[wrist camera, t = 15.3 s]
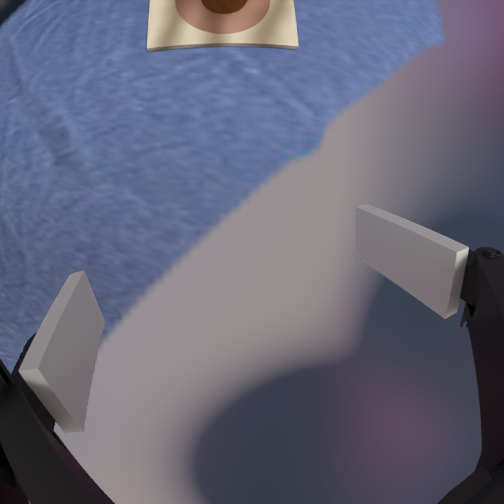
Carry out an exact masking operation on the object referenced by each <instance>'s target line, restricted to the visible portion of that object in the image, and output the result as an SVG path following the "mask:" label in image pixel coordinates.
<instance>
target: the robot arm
mask: <svg viewBox="0 0 504 504" xmlns="http://www.w3.org/2000/svg"><path fill="white" fill-rule="evenodd" d="M355 208H356V239H357V240H356V243H357V244H356V246H357V257H358V258H359V259H360V260H362V261H363V262H365V263H366V264H368V265H369V266H371V267H372V268H374V269H375V270H377V271H378V272H380V273H381V274H383V275H384V276H386V277H387V278H388V279H390V280H391V281H393V282H394V283H396V284H397V285H399V286H400V287H402V288H403V289H404V290H406V291H407V292H409V293H410V294H411V295H413V296H414V297H416V298H417V299H418V300H420V301H421V302H423V303H424V304H425V305H427V306H428V307H429V308H431V309H432V310H434V311H435V312H436V313H438V314H439V315H440V316H442V317H443V318H445V319H446V318H447V317H449V316H451V315H453V314H454V313H456V312H457V310H458V305H459V301H460V298H461V299H462V300H464V301H465V302H466V303H465V307H464V311H463V315H462V319H461V323H460V327H462V326H463V323H464V322H465V321H467V324H466V327H468V331H469V335H470V340H471V346H472V350H473V357H474V363H475V369H476V377H477V385H478V393H479V404H480V416H481V434H482V451H481V456H480V458H479V461H478V464H477V466H476V469H475V471H474V472H473V473H472V474H471V475H470V476H468V477H467V478H466V479H465V480H464V481H462V482H461V483H460V484H459V485H457V486H456V487H455V488H454V489H452V490H451V491H450V492H448V493H447V494H446V495H445V496H444V497H443V498H442V499H441V500H440V501H439V502H438V503H437V504H504V255H503V254H502V253H501V252H500V251H499V250H496V249H494V248H490V247H481V248H478V249H476V250H475V252H474V251H472V250H470V249H469V247H467V246H465V245H462V244H461V243H458V242H456V241H454V240H452V239H450V238H448V237H445V236H443V235H441V234H439V233H436V232H434V231H432V230H429V229H427V228H425V227H423V226H420V225H418V224H415V223H413V222H411V221H408V220H406V219H404V218H401V217H399V216H396V215H394V214H391V213H389V212H386V211H384V210H381V209H378V208H376V207H373V206H371V205H368V204H366V205H361V206H357V207H355ZM104 324H105V320H104V317H103V315H102V313H101V310H100V308H99V306H98V303H97V301H96V298H95V296H94V293H93V291H92V288H91V286H90V283H89V280H88V278H87V275H86V272H85V270H83V271H79V272H75V273H72V274H70V275H69V277H68V279H67V280H66V282H65V283H64V285H63V287H62V288H61V290H60V292H59V294H58V295H57V297H56V299H55V300H54V302H53V304H52V306H51V307H50V309H49V311H48V313H47V315H46V316H45V318H44V320H43V322H42V324H41V326H40V328H39V329H38V331H37V333H35V334H34V335H33V336H32V337H31V338H30V339H29V340H28V341H27V343H26V345H25V347H24V349H23V352H22V353H21V355H20V357H19V358H20V359H18V361H17V363H16V365H15V367H14V369H13V372H12V374H10V373H9V371H8V370H7V368H6V367H5V365H4V364H3V362H2V360H1V359H0V504H29V502H30V504H115V503H114V502H113V501H112V500H111V499H110V498H109V497H108V496H107V495H106V494H105V493H104V492H103V491H102V490H101V489H100V487H99V486H98V485H97V484H96V483H95V482H94V481H93V479H92V478H91V477H90V476H89V475H88V474H87V473H86V471H85V470H84V469H83V468H82V467H81V465H80V464H79V463H78V462H77V460H76V459H75V458H74V456H73V455H72V454H71V453H70V451H69V450H68V449H67V448H66V446H65V445H64V443H63V442H62V440H61V439H60V438H59V436H58V435H57V434H56V433H55V432H54V431H53V430H54V425H55V422H56V423H57V424H58V425H59V426H60V427H61V429H62V430H63V431H64V432H79V431H84V425H85V418H86V411H87V405H88V399H89V394H90V387H91V383H92V378H93V372H94V368H95V363H96V358H97V354H98V349H99V345H100V341H101V336H102V332H103V328H104ZM28 500H29V501H28Z"/></svg>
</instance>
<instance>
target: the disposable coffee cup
mask: <svg viewBox="0 0 504 504" xmlns="http://www.w3.org/2000/svg"><path fill="white" fill-rule="evenodd" d="M201 1H202V4H203V5H204V6H205V7H206V8H207V9H208V10H210V11H212V12H215V13H219V14H230V13H234V12H237V11H239V10H240V9H242V8H243V7H244V6H245V4H246V2H247V1H248V0H201Z"/></svg>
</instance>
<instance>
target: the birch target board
mask: <svg viewBox="0 0 504 504" xmlns="http://www.w3.org/2000/svg"><path fill="white" fill-rule="evenodd" d="M224 46H243V47H271V48H286V49H297V48H298V36H297V27H296V18H295V10H294V2H293V0H248V1H247V2H246V4H245V6H244V7H243V8H242V9H240V10H239V11H237V12H234V13H230V14H219V13H215V12H212V11H210V10H208V9H207V8H206V7H205V6H204V5H203V4H202V1H201V0H150V7H149V21H148V38H147V50H148V52H151V51H160V50H170V49H181V48H196V47H224Z"/></svg>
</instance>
